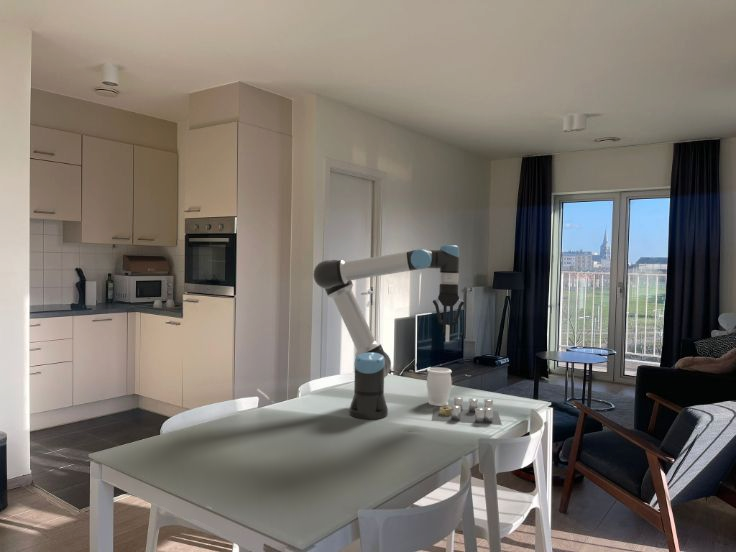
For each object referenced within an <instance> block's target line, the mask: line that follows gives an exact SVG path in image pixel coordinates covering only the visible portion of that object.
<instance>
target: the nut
mask: <svg viewBox="0 0 736 552" xmlns="http://www.w3.org/2000/svg"><path fill="white" fill-rule="evenodd" d="M439 408H440V415H444V416H450V415H451V406H450V407H449V406H439Z"/></svg>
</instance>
